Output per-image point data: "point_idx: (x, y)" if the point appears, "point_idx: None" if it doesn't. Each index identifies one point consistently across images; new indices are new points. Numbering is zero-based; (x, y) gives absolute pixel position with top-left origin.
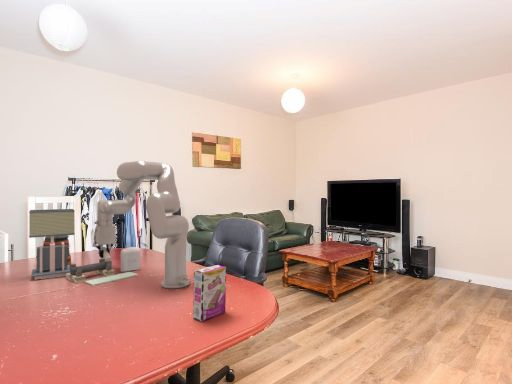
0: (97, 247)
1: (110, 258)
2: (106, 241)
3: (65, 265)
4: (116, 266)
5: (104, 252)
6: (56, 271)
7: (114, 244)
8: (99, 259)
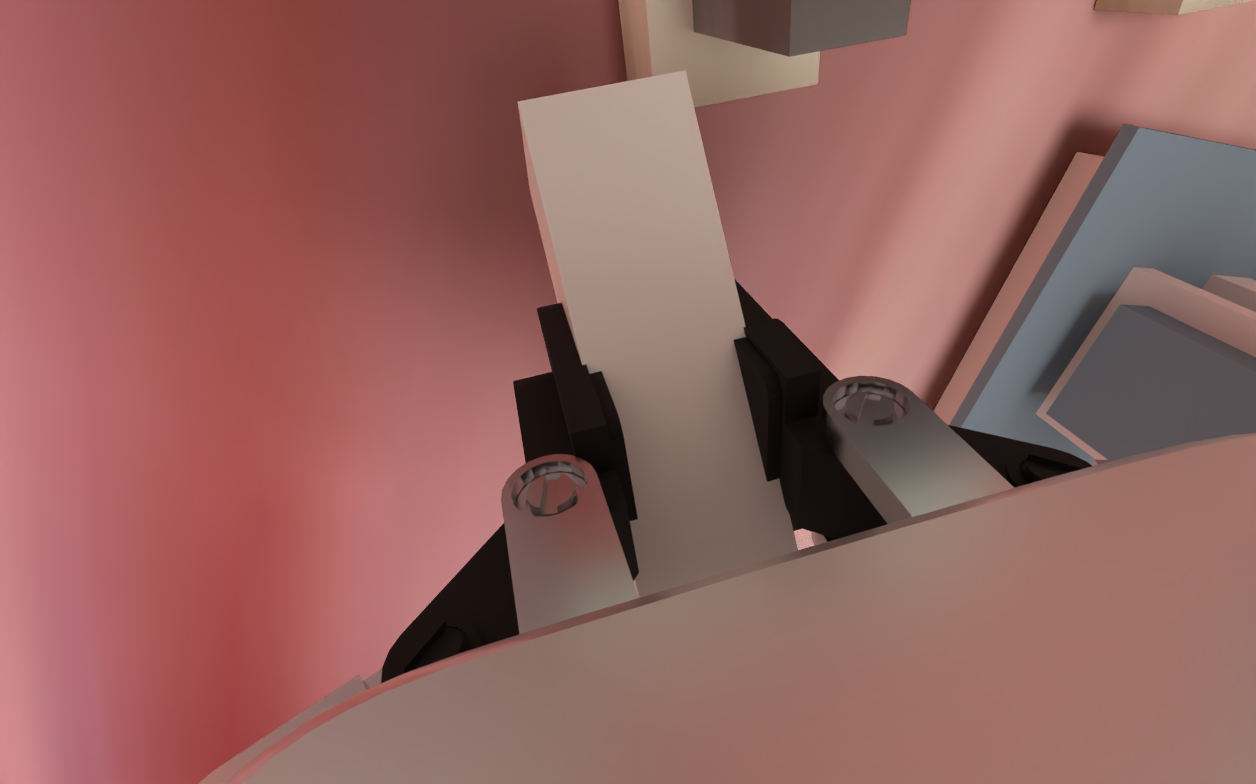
0: (1069, 454)
1: (534, 116)
2: (1025, 700)
3: (1164, 319)
4: (337, 333)
5: (707, 366)
6: (1219, 247)
7: (295, 721)
8: (906, 19)
